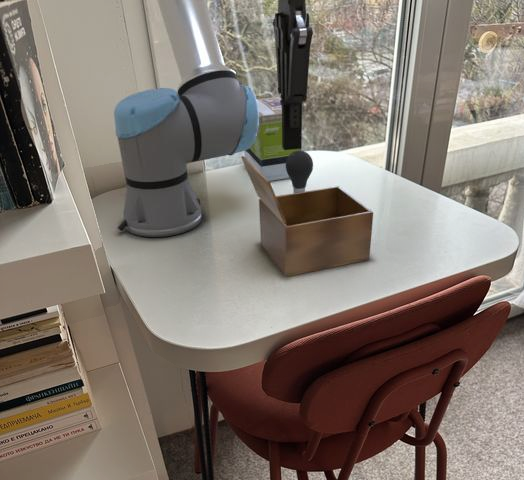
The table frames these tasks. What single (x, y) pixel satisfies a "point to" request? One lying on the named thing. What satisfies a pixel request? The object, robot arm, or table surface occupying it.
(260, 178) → the flap
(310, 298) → the table surface
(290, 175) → the light bulb
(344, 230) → the carton
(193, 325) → the table surface
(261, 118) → the tea box
